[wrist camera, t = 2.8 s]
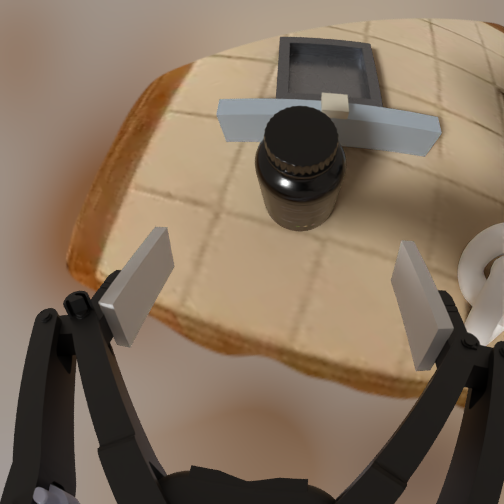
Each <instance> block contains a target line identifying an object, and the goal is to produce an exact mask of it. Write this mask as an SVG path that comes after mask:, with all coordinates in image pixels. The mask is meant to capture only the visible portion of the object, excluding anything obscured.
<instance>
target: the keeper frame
mask: <svg viewBox="0 0 504 504" xmlns="http://www.w3.org/2000/svg"><path fill="white" fill-rule="evenodd" d="M322 93H333V94H344V95H348V103H352V104H361V105H369V106H376V107H383V105H382V99H381V93H380V88H379V82H378V77H377V72H376V68H375V63H374V58H373V54H372V50H371V45H370V44H368V43H361V42H353V41H344V40H334V39H321V38H304V37H280V46H279V61H278V76H277V90H276V99H298V100H316V101H321V96H322Z"/></svg>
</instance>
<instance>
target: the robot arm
mask: <svg viewBox="0 0 504 504" xmlns="http://www.w3.org/2000/svg"><path fill="white" fill-rule="evenodd" d="M173 268H174V262H173V256H172V251H171V246H170V240H169V235H168V229H167V227H155V228H154V229H153V230H152V232H151V233H150V234H149V235H148V237H147V238H146V239H145V240H144V242H143V243H142V244H141V246H140V247H139V248H138V249H137V251H136V252H135V253H134V255H133V256H132V257H131V258H130V260H129V261H128V262H127V264H126V265H125V266H124V268H123V269H122V270H116V271H114V272H113V273H111V274H110V275H109V276H108V277H107V279H106V280H105V281H104V283H103V284H102V285H101V286H100V288H99V289H98V290H97V292H96V293H95V295H94V296H93V297H92V299H91V300H90V298H89V295H88V293H87V292H85V291H77V292H73V293H71V294H70V295H68V296H67V297H66V299H65V300H64V303H63V305H64V307H65V309H66V312H67V313H68V315H62V316H59V315H58V313H57V311H56V310H55V309H53V308H48V309H45V310H43V311H41V312H40V313H39V314H38V315H37V317H36V319H35V322H34V326H33V330H32V334H31V338H30V342H29V346H28V351H27V355H26V359H25V365H24V370H23V375H22V380H21V386H20V393H19V399H18V407H17V414H16V423H15V433H14V446H13V463H12V466H11V469H10V472H9V475H8V478H7V481H6V484H5V487H4V491H3V494H2V498H1V501H0V504H80V503H79V501H78V500H77V499H76V498H75V493H76V472H75V454H74V391H75V373H76V360H77V362H78V367H79V372H80V376H81V381H82V385H83V389H84V393H85V397H86V401H87V404H88V408H89V412H90V415H91V419H92V422H93V425H94V429H95V432H96V435H97V438H98V441H99V444H100V447H99V448H98V455H99V458H100V461H101V464H102V467H103V470H104V472H105V475H106V477H107V480H108V482H109V485H110V487H111V490H112V492H113V495H114V497H115V499H116V501H117V504H394V503H395V502H396V501H397V499H398V498H399V497H400V495H401V494H402V493H403V491H404V490H405V488H406V486H407V482H408V480H409V479H410V477H411V476H412V474H413V473H414V471H415V470H416V469H417V467H418V466H419V464H420V463H421V461H422V460H423V458H424V457H425V455H426V454H427V452H428V451H429V449H430V447H431V446H432V444H433V443H434V441H435V439H436V438H437V436H438V434H439V433H440V431H441V429H442V428H443V426H444V424H445V422H446V421H447V419H448V417H449V415H450V413H451V411H452V410H453V408H454V406H455V404H456V402H457V400H458V398H459V396H460V394H461V392H462V390H463V388H464V387H467V388H468V394H467V399H466V404H465V409H464V414H463V419H462V423H461V427H460V432H459V435H458V439H457V443H456V447H455V450H454V454H453V457H452V460H451V464H450V467H449V470H448V473H447V476H446V479H445V482H444V485H443V487H442V490H441V493H440V496H439V498H438V501H437V503H436V504H498V502H499V498H500V494H501V490H502V486H503V482H504V341H500V342H497V343H496V344H495V346H494V347H493V348H491V347H487V346H483V345H480V342H479V340H478V339H477V337H475V336H474V335H473V334H471V333H468V332H467V330H466V328H465V325H464V323H463V321H462V318H461V316H460V314H459V312H458V309H457V307H456V306H455V303H454V301H453V299H452V297H451V296H450V295H449V294H448V293H447V292H446V291H443V290H437V287H436V285H435V283H434V281H433V279H432V277H431V275H430V273H429V271H428V268H427V266H426V264H425V262H424V260H423V258H422V256H421V254H420V253H419V251H418V249H417V247H416V245H415V243H414V241H404V240H401V244H400V248H399V252H398V256H397V260H396V263H395V267H394V271H393V274H392V278H391V282H392V285H393V289H394V292H395V295H396V298H397V302H398V305H399V308H400V312H401V315H402V319H403V322H404V326H405V330H406V333H407V337H408V341H409V345H410V349H411V353H412V357H413V361H414V365H415V370H416V371H424V370H431V368H432V366H433V365H434V363H436V367H437V370H436V372H435V373H434V375H433V376H432V378H431V379H430V381H429V382H428V385H427V386H426V388H425V389H424V391H423V393H422V394H421V396H420V397H419V399H418V400H417V402H416V403H415V405H414V406H413V408H412V409H411V411H410V412H409V414H408V415H407V416H406V418H405V419H404V421H403V422H402V423H401V425H400V426H399V427H398V429H397V430H396V431H395V433H394V434H393V435H392V437H391V438H390V439H389V440H388V442H387V443H386V444H385V446H384V447H383V448H382V449H381V450H380V452H379V453H378V454H377V455H376V457H375V458H374V459H373V460H372V461H371V462H370V464H369V465H368V466H367V467H366V468H365V469H364V470H363V472H362V473H361V474H360V475H359V476H358V477H357V478H356V479H355V481H354V482H352V484H351V485H350V486H349V487H348V488H347V489H346V490H345V491H344V492H343V493H342V494H341V495H340V496H339V497H338V498H337V499H336V500H335V499H334V498H333V497H332V496H331V495H329V494H328V493H326V492H325V491H323V490H321V489H319V488H317V487H314V486H311V485H308V479H290V478H274V479H267V480H259V481H245V480H242V479H239V478H237V477H234V476H232V475H229V474H226V473H224V472H221V471H219V470H213V469H207V468H203V467H197V466H191V469H190V471H181V472H176V473H173V474H170V475H167V474H166V472H165V471H164V469H163V467H162V466H161V464H160V463H159V461H158V459H157V457H156V455H155V453H154V451H153V449H152V447H151V445H150V443H149V441H148V438H147V436H146V434H145V432H144V430H143V428H142V425H141V423H140V420H139V418H138V416H137V413H136V411H135V409H134V406H133V404H132V401H131V399H130V396H129V394H128V391H127V388H126V386H125V383H124V380H123V378H122V375H121V372H120V369H119V367H118V364H117V361H116V358H115V355H114V352H113V349H112V346H111V344H110V341H111V340H112V338H113V337H114V339H115V341H116V343H117V345H120V346H125V347H131V345H132V343H133V341H134V340H135V338H136V336H137V334H138V332H139V330H140V328H141V326H142V324H143V323H144V321H145V319H146V317H147V315H148V313H149V311H150V310H151V308H152V306H153V304H154V302H155V300H156V299H157V297H158V295H159V293H160V291H161V290H162V288H163V286H164V284H165V282H166V281H167V279H168V277H169V275H170V274H171V272H172V270H173Z"/></svg>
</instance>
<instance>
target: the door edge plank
mask: <svg viewBox="0 0 504 504" xmlns="http://www.w3.org/2000/svg"><path fill="white" fill-rule="evenodd" d="M299 105H300V106H308V107H313V108H315V109H317V110H320V111H321V112H323V113H325V114H326V115H327V116H328V117H330V118H331V121H332V122H334V124H335V127H336V128H337V133H338V135H339V138H338V140H339V143H340V144H341V146H346V147H356V148H366V149H375V150H383V151H391V152H398V153H405V154H412V155H418V156H426V154H427V153H428V152H429V150H430V149H431V147H432V146H433V145H434V143H435V142H436V140H437V139H438V138H439V136H440V135H441V128H440V124H439V120H438V117H434V116H430V115H425V114H419V113H414V112H409V111H403V110H397V109H390V108H384V107H376V106H369V105H361V104H352V103H348V95H344V94H333V93H322V96H321V101H316V100H298V99H219V105H218V110H217V118H218V120H219V123H220V126H221V128H222V131H223V134H224V136H225V139H226V142H261V141H262V140H263V138H264V133H265V131H264V130H265V128H266V127H267V123H268V122H269V121H270V118H271V117H273V116H274V114H276V113H278V112H279V111H280V110H283V109H285V108H287V107H292V106H299Z"/></svg>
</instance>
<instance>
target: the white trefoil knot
mask: <svg viewBox="0 0 504 504" xmlns="http://www.w3.org/2000/svg"><path fill="white" fill-rule="evenodd" d="M500 255H504V222H503V223H499V224H495V225H492V226H490V227H488V228H486V229H484V230H483V231H482V232H480V233H479V234H477V235H476V236H475V237H474V238H473V239H472V240H471V241H470V242H469V243H468V245H467V246H466V248H465V249H464V251H463V253H462V255H461V257H460V260H459V265H458V282H459V286H460V290H461V292H462V294H463V296H464V298H465V299H466V300H467V301H468V302H469V303H470V305H471V306H472V309H471V311H470V313H469V315H468V317H467V319H466V322H465V324H464V325H465V328H466V330H467V332H468V333H471V334H473V335H474V336H475V337H477V339H478V340H479V342H480V345H483V346H486V345H488V344H489V343H490V342H491V341H492V340H494V339H495V338H496V337H497V336H498V335H499V334H500V333H502V332H503V331H504V256H501V257H500V258H498V259H497V260H495V261H494V263H493V265H492V267H491V271H490V275H489V277H488V279H486V278H485V276H484V268H485V266H486V265H487V264H488V263H489V262H490V261H491V260H493V259H494V258H496V257H498V256H500Z"/></svg>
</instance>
